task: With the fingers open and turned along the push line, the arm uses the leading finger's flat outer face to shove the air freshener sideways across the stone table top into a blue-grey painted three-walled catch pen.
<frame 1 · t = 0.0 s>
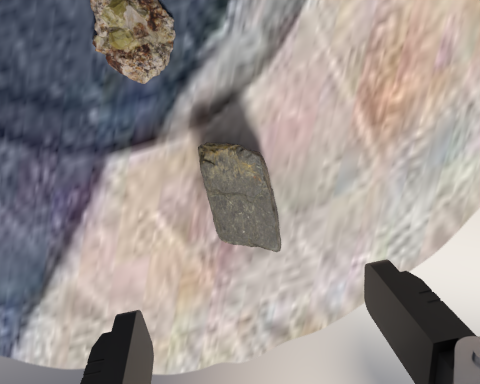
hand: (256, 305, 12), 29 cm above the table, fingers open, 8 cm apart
rock: (238, 191, 43), on the table
mineral rock: (131, 25, 34), on the table
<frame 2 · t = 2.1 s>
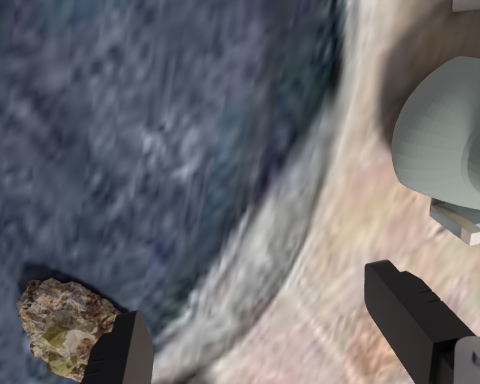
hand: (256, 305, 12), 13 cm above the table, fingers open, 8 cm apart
air freshener: (443, 125, 25), on the table
mineral rock: (78, 318, 28), on the table
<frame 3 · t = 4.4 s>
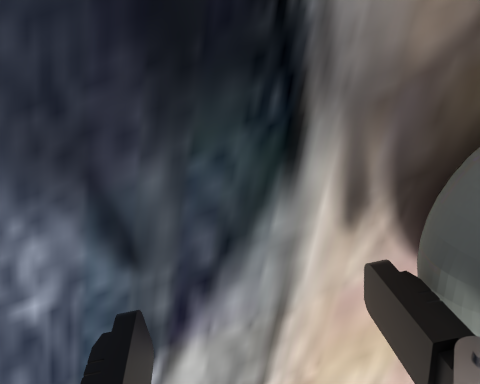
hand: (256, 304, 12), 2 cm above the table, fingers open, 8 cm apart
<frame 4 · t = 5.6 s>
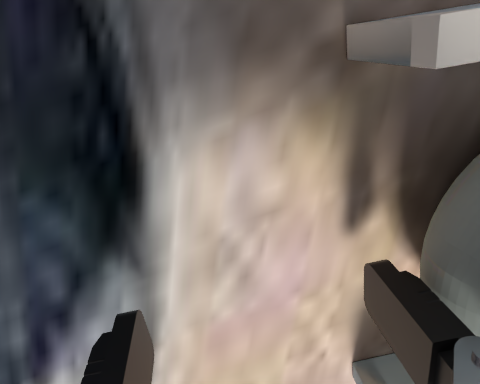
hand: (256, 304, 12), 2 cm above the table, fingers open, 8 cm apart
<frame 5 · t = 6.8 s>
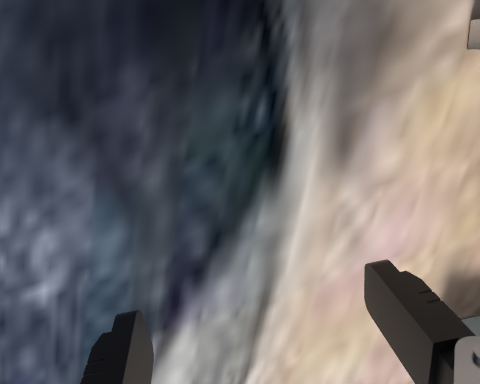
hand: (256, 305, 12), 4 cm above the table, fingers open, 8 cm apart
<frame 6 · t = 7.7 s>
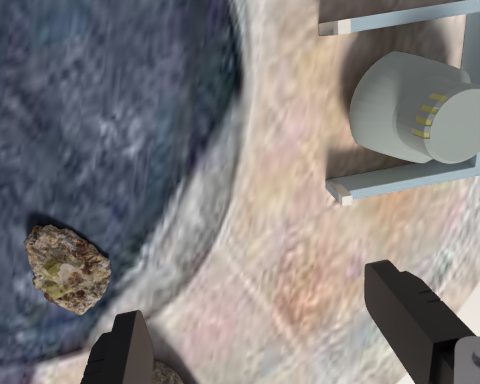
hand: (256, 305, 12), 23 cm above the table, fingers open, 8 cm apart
air freshener: (390, 104, 34), on the table
catch pen: (400, 100, 34), on the table
mineral rock: (70, 260, 37), on the table
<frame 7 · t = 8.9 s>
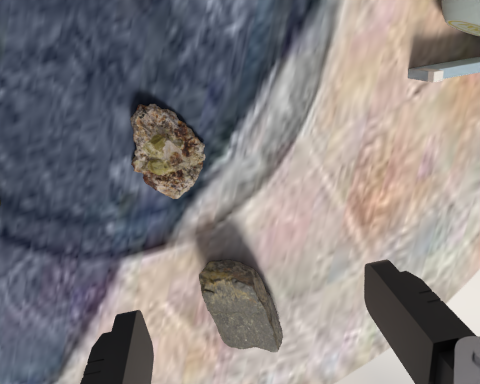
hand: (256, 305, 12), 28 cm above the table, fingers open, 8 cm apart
rock: (239, 293, 48), on the table
mineral rock: (166, 146, 38), on the table
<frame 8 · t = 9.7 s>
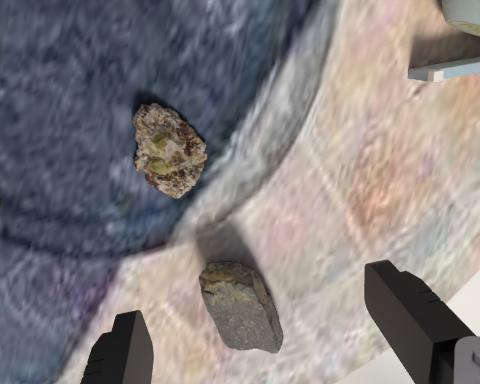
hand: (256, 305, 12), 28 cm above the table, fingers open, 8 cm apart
rock: (240, 294, 48), on the table
mineral rock: (167, 146, 38), on the table
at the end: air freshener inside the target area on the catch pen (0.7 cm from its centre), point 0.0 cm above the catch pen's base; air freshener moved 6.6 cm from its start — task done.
